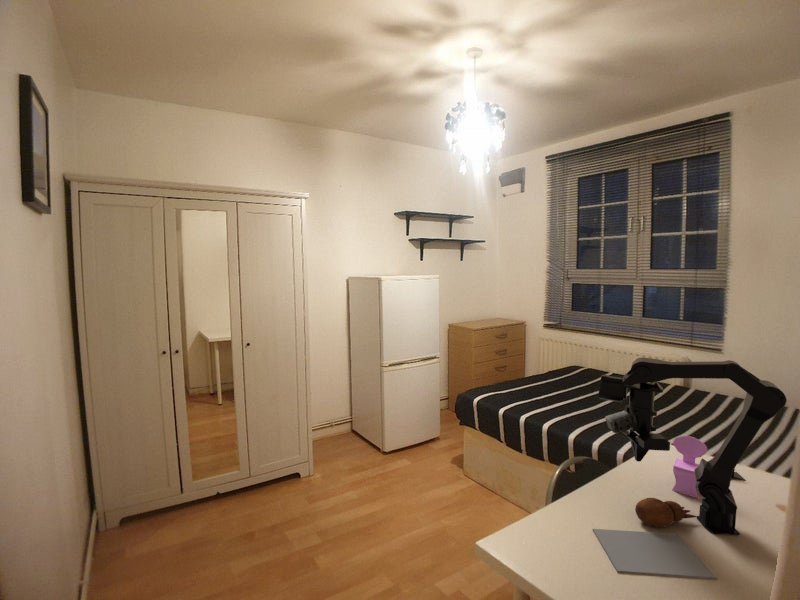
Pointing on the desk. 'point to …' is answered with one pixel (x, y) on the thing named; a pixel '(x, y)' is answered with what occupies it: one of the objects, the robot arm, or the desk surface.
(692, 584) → the desk surface
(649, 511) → the wooden figurine
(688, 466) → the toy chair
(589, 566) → the desk surface
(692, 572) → the mat
